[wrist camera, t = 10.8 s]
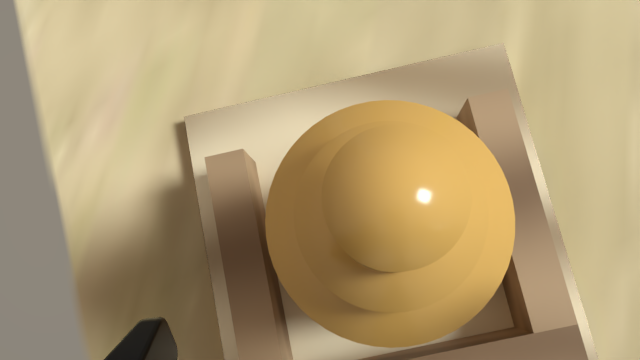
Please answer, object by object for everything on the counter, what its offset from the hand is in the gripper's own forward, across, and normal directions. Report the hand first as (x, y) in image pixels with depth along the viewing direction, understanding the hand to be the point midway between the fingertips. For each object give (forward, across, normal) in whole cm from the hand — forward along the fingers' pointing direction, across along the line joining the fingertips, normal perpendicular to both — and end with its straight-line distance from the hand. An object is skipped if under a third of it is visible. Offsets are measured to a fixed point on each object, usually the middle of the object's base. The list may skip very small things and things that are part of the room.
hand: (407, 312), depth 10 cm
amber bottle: (+10, 0, +7) cm, 12 cm away
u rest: (+10, 0, +7) cm, 12 cm away
